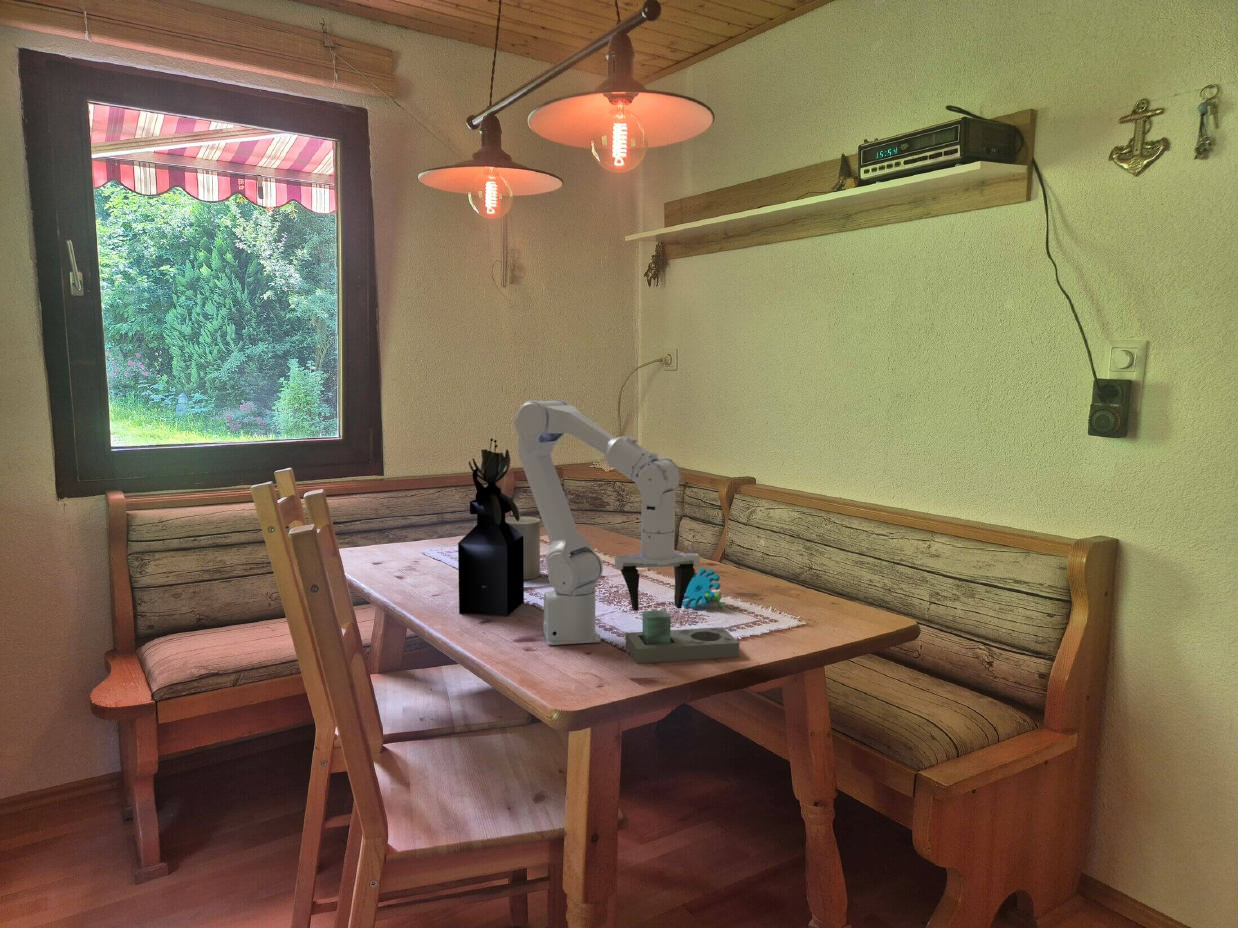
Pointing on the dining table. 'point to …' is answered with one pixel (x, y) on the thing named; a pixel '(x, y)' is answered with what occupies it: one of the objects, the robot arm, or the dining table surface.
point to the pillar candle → (529, 543)
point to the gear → (702, 589)
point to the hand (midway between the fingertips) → (656, 607)
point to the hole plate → (684, 646)
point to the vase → (491, 546)
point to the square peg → (656, 627)
